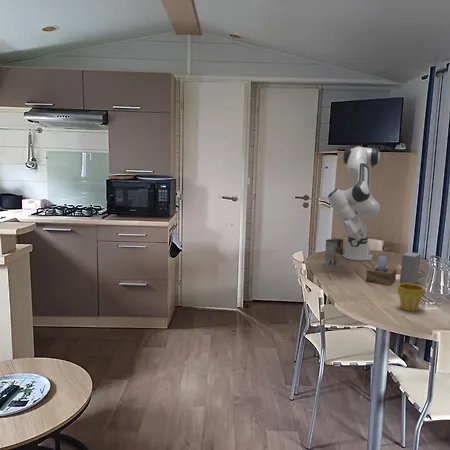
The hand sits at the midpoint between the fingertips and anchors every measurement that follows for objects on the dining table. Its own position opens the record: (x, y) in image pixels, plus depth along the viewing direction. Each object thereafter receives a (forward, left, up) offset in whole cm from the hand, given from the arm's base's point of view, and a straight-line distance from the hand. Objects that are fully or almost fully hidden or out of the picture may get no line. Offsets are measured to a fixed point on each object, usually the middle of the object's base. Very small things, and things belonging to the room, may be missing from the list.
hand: (361, 238), depth 236 cm
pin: (+3, +13, -20) cm, 24 cm away
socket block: (+3, +13, -21) cm, 25 cm away
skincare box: (-2, +26, -21) cm, 33 cm away
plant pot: (+40, +35, -21) cm, 57 cm away
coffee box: (-15, -20, -21) cm, 33 cm away
